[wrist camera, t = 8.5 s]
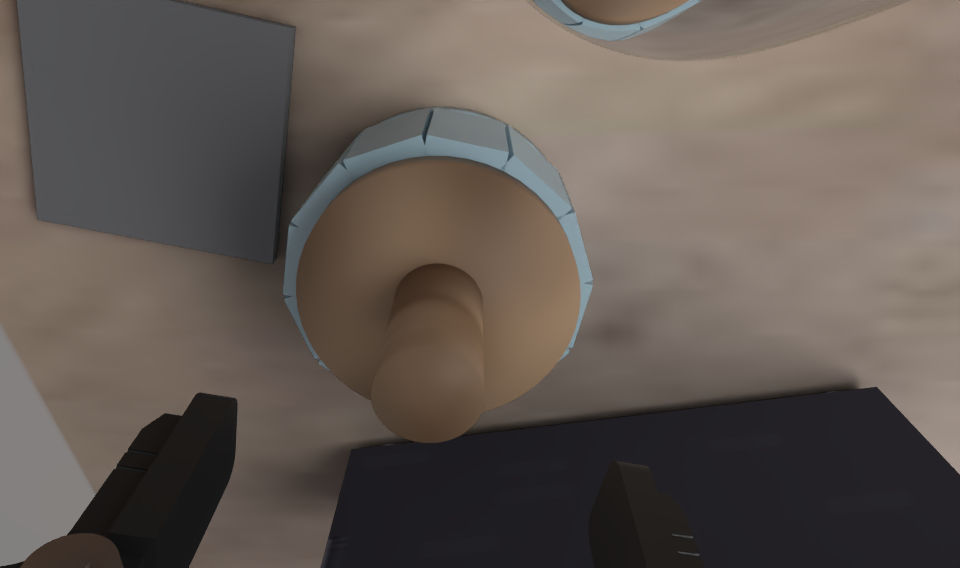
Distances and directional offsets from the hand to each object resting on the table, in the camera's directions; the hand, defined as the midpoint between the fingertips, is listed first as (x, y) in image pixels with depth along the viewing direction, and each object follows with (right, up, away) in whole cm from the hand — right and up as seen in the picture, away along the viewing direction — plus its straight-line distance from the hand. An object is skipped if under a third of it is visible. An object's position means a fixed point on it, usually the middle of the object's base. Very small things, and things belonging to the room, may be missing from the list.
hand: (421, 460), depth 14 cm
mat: (-10, +10, +10) cm, 17 cm away
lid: (0, +4, +8) cm, 8 cm away
